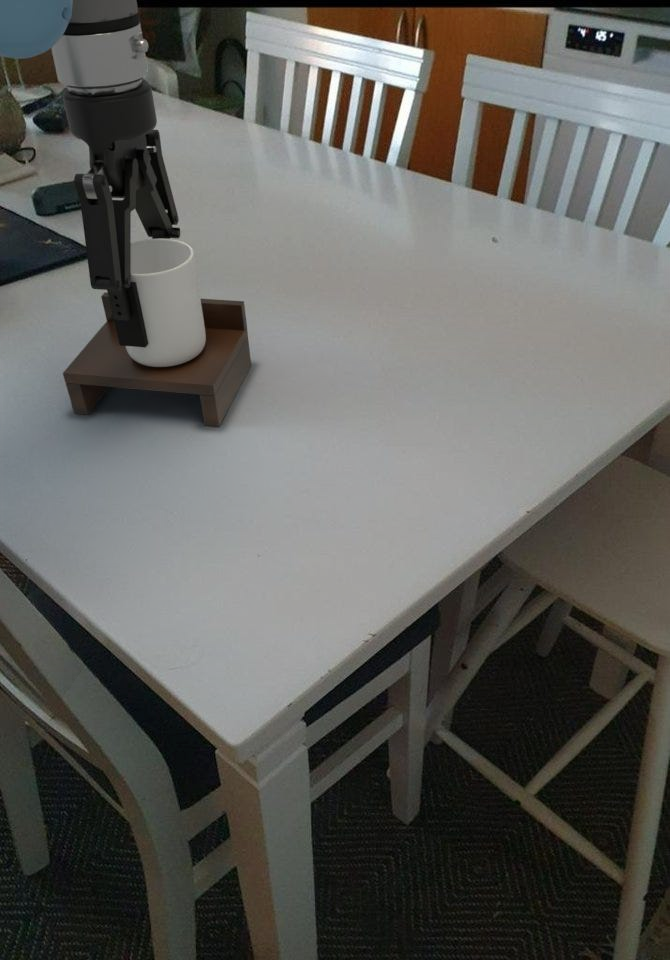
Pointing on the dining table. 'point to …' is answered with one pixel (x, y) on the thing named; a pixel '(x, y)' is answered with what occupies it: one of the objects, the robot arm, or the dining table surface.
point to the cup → (167, 302)
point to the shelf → (205, 374)
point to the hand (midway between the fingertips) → (152, 321)
